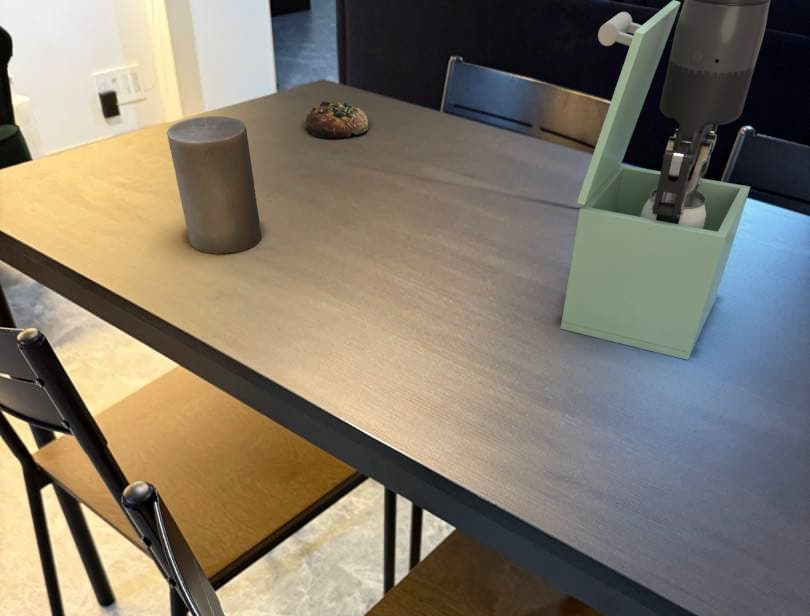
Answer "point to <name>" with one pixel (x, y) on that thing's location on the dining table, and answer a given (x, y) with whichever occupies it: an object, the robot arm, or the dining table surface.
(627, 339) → the box
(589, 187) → the lid
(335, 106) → the bread roll
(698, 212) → the can
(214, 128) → the pillar candle
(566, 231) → the dining table surface
